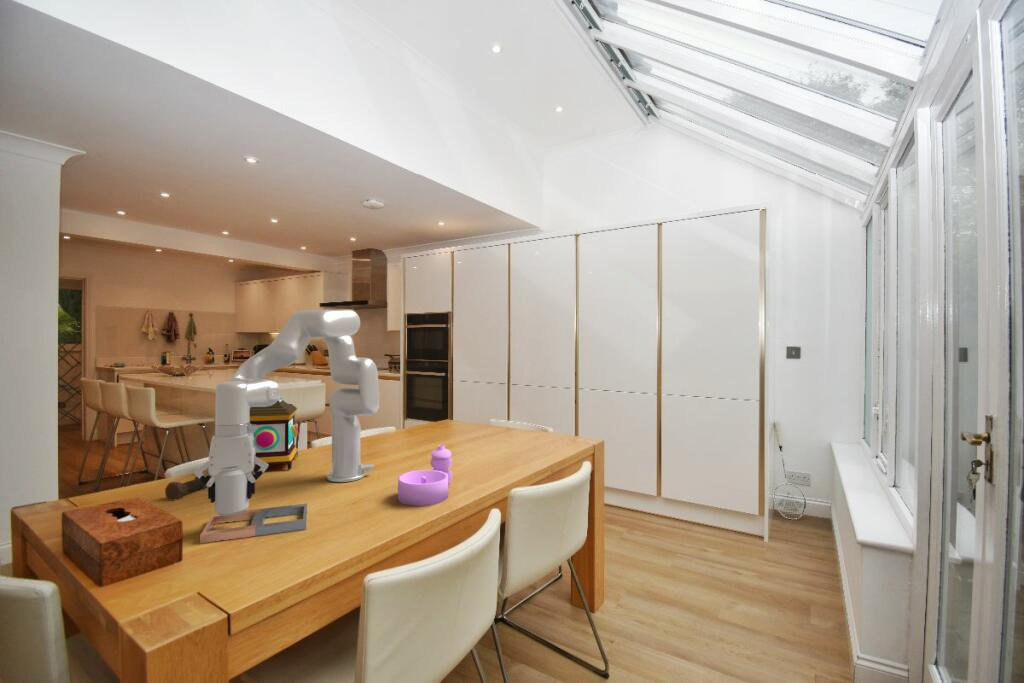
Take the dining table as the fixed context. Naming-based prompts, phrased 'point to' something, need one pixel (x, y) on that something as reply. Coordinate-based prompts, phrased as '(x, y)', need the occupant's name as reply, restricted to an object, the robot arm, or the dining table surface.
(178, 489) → the bolt
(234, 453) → the robot arm
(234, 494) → the can
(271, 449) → the decorative lantern
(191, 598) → the dining table surface
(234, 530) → the tray
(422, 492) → the container set
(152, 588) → the dining table surface
